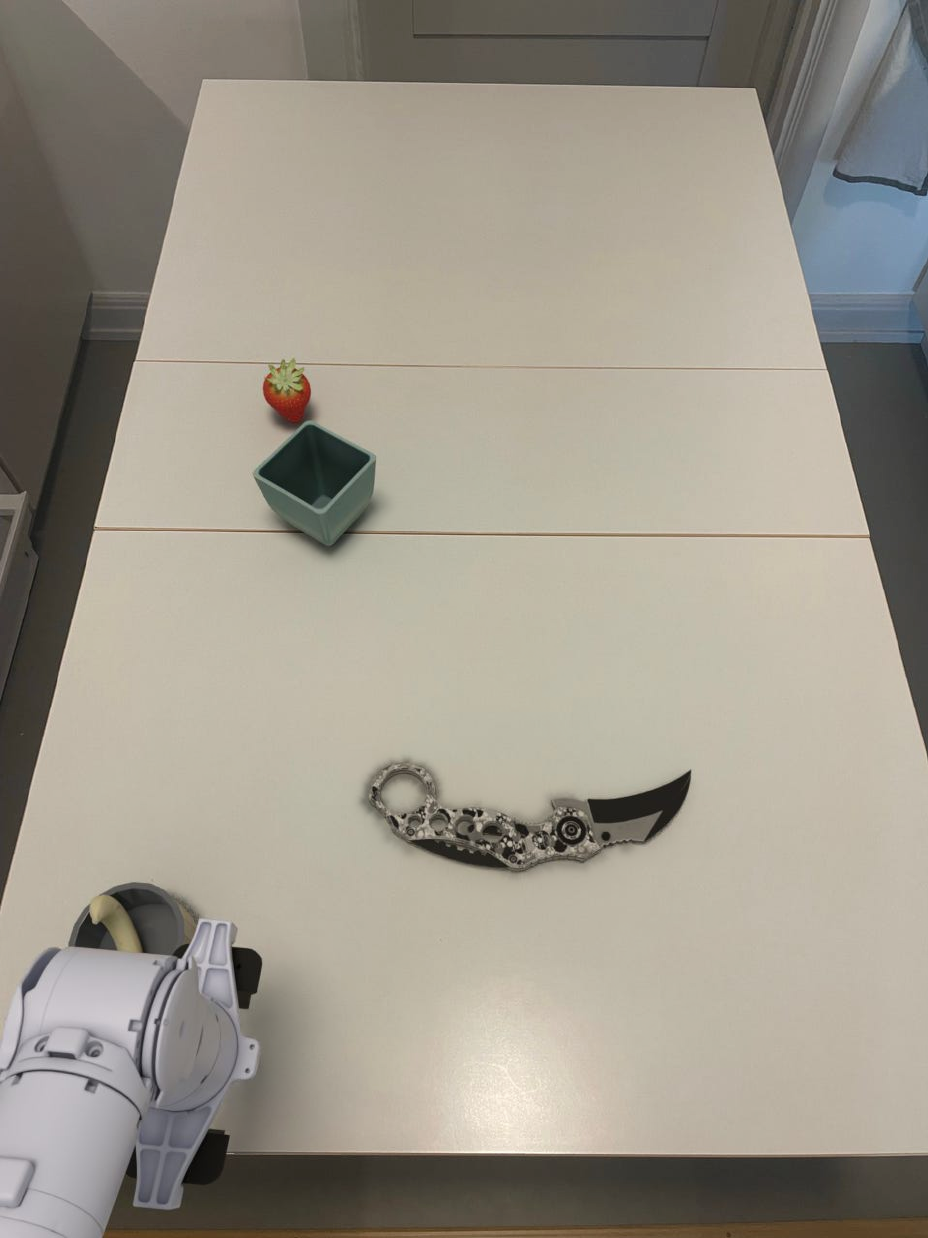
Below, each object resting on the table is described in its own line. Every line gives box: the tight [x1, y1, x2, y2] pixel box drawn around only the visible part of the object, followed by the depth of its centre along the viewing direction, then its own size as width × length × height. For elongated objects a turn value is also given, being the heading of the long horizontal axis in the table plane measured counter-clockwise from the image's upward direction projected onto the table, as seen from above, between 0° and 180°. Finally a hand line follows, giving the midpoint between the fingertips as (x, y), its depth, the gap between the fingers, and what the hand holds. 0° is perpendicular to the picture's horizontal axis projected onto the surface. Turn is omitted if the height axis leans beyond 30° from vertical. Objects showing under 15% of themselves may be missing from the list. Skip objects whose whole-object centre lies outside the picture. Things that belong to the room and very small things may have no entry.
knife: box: [368, 762, 692, 872], centre depth 76 cm, size 28×2×10 cm
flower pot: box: [252, 420, 377, 547], centre depth 89 cm, size 9×9×9 cm
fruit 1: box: [89, 894, 143, 953], centre depth 67 cm, size 4×8×2 cm
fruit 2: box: [262, 357, 312, 423], centre depth 97 cm, size 5×5×8 cm
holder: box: [67, 881, 198, 956], centre depth 68 cm, size 8×8×6 cm
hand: (221, 1066), depth 57 cm, fingers open, 7 cm apart
